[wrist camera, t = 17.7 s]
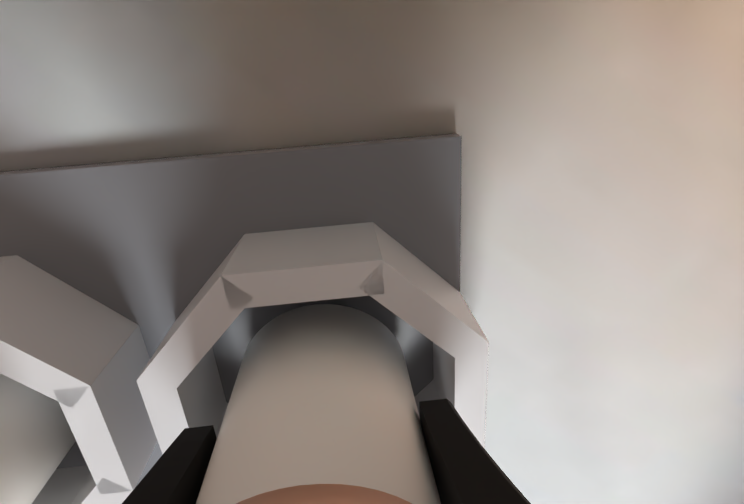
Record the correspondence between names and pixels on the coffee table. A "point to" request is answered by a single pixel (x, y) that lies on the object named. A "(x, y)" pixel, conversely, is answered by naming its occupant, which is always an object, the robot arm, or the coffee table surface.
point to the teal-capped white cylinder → (29, 441)
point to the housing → (221, 285)
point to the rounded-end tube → (321, 417)
